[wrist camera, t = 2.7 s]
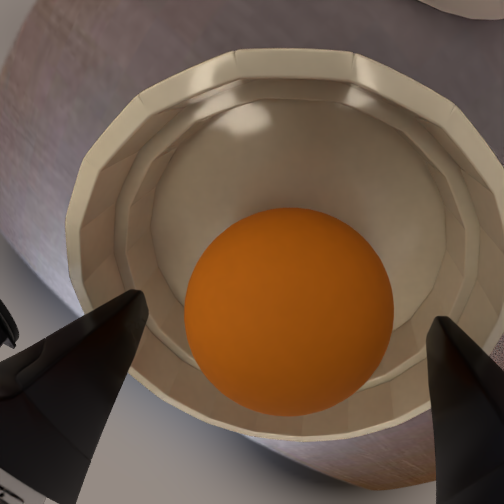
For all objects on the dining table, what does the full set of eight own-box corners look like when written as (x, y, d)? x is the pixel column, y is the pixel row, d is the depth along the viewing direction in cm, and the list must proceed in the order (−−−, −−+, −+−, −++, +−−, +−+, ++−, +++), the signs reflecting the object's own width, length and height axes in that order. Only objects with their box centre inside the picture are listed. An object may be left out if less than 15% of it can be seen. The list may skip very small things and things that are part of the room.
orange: (223, 310, 13) (177, 430, 8) (211, 176, 10) (116, 279, 5) (361, 322, 12) (369, 453, 7) (389, 186, 9) (456, 308, 4)
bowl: (166, 346, 16) (134, 410, 13) (114, 81, 9) (25, 97, 6) (411, 368, 14) (423, 441, 10) (490, 96, 7) (573, 119, 3)
